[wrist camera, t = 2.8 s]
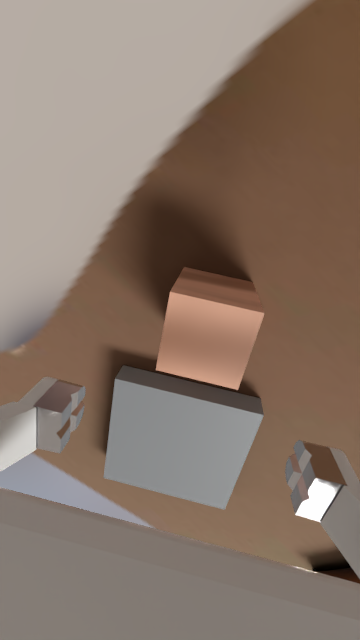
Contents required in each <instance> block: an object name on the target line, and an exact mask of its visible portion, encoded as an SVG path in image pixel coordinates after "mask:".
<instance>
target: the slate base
mask: <svg viewBox="0 0 360 640" xmlns="http://www.w3.org/2000/svg"><path fill="white" fill-rule="evenodd" d="M263 416H264V414H263V409H262V404H261V398H257V397H253V396H248V395H244V394H240V393H236V392H232V391H228V390H224V389H220V388H215V387H211V386H207V385H203V384H199V383H195V382H191V381H187V380H183V379H178V378H174V377H170V376H166V375H162V374H158V373H154V372H150V371H145V370H141V369H137V368H133V367H129V366H125V365H123V366H122V368H121V369H120V371H119V373H118V374H117V376H116V378H115V383H114V392H113V401H112V409H111V418H110V427H109V436H108V445H107V453H106V462H105V471H104V478H106V479H110V480H114V481H118V482H121V483H125V484H129V485H133V486H137V487H140V488H144V489H148V490H152V491H156V492H159V493H163V494H167V495H171V496H175V497H178V498H182V499H186V500H190V501H194V502H197V503H201V504H205V505H209V506H213V507H216V508H220V509H224V510H225V507H226V505H227V503H228V500H229V498H230V495H231V493H232V491H233V488H234V486H235V483H236V481H237V478H238V476H239V474H240V471H241V469H242V466H243V464H244V462H245V459H246V457H247V454H248V452H249V450H250V447H251V445H252V442H253V440H254V438H255V435H256V433H257V430H258V428H259V425H260V423H261V421H262V418H263Z"/></svg>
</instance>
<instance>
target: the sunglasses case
mask: <svg viewBox="0 0 360 640" xmlns="http://www.w3.org/2000/svg"><path fill="white" fill-rule="evenodd" d="M313 571H314V572H316V570H315V569H314V568H313ZM318 573H322V574H326V575H329V576H333V577H337V578H340V579H344V580H348V581H352V582H355V583H359V584H360V579H359V577H358V576H357V574H356V573H355V572H354V570H353V569H352V568H346V569H338V570H330V571H318Z"/></svg>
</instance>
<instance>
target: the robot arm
mask: <svg viewBox="0 0 360 640" xmlns="http://www.w3.org/2000/svg"><path fill="white" fill-rule="evenodd" d="M84 396H85V387H84V386H81V385H77V384H74V383H70V382H67V381H63V380H58V379H55V378H51V377H44V378H43V379H42V380H41V381H39V382H38V383H37V384H36V385H35V386H34V387H33V388H32V389H31V390H30V391H29V392H28V393H27V394H26V395H25V396H24V397H23V398H22V399H21V400H20V401H19V402H18V403H17V402H11V403H8V404H5V405H2V406H0V472H1V471H2V470H4V469H5V468H7V467H8V466H10V465H12V464H14V463H15V462H17V461H18V460H20V459H21V458H23V457H25V456H26V455H28V454H30V453H31V452H33V451H35V450H36V448H39V449H43V450H47V451H52V452H56V453H61V451H62V450H63V448H64V447H65V445H66V444H67V442H68V440H69V439H70V432H72V431H74V430H76V428H77V426H78V425H79V423H80V421H81V418H82V416H83V411H84V403H83V402H82V399H83V398H84ZM294 450H295V454H293V455H291V456H289V458H288V461H287V463H286V470H285V473H286V480H287V484H288V485H289V486H290V488H291V489H292V490H293V492H292V494H291V500H292V504H293V508H294V512H295V515H298V516H302V517H305V518H308V519H312V520H315V521H319V522H321V523H320V524H321V525H322V527H323V528H324V529H325V531H326V532H327V534H328V535H329V536H330V538H331V539H332V541H333V542H334V544H335V545H336V546H337V548H338V549H339V551H340V552H341V553H342V555H343V556H344V558H345V559H346V560H347V562H348V563H349V565H350V566H351V567H352V569H353V570H354V572H355V573H356V574H357V576H358V577H359V579H360V482H359V480H358V478H357V476H356V474H355V472H354V470H353V468H352V467H351V465H350V463H349V461H348V459H347V457H346V455H345V453H344V452H343V451H342V450H340V449H336V448H332V447H325V446H322V445H318V444H314V443H309V442H305V441H301V440H299V441H297V442H296V444H295V446H294ZM0 640H360V584H359V583H355V582H352V581H348V580H344V579H340V578H337V577H333V576H329V575H326V574H322V573H318V572H314V571H311V570H307V569H303V568H299V567H296V566H292V565H288V564H285V563H281V562H277V561H273V560H270V559H266V558H262V557H258V556H255V555H251V554H247V553H243V552H240V551H236V550H232V549H228V548H225V547H221V546H217V545H213V544H210V543H206V542H202V541H199V540H195V539H191V538H187V537H184V536H180V535H176V534H172V533H169V532H165V531H161V530H158V529H154V528H150V527H146V526H143V525H138V524H135V523H131V522H128V521H124V520H120V519H116V518H113V517H109V516H105V515H102V514H98V513H94V512H90V511H87V510H83V509H79V508H76V507H72V506H68V505H64V504H61V503H57V502H53V501H49V500H46V499H42V498H38V497H34V496H31V495H27V494H23V493H20V492H16V491H12V490H8V489H4V488H1V487H0Z"/></svg>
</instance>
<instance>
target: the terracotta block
mask: <svg viewBox="0 0 360 640" xmlns="http://www.w3.org/2000/svg"><path fill="white" fill-rule="evenodd" d="M263 316H264V310H263V308H262V305H261V303H260V300H259V297H258V295H257V292H256V289H255V287H254V284H253V282H250V281H246V280H241V279H237V278H232V277H228V276H223V275H219V274H214V273H210V272H205V271H201V270H196V269H192V268H187V267H184V268H183V270H182V271H181V273H180V275H179V277H178V278H177V280H176V282H175V284H174V286H173V287H172V289H171V291H170V295H169V300H168V306H167V311H166V316H165V322H164V327H163V333H162V338H161V343H160V349H159V354H158V360H157V365H156V370H158V371H162V372H166V373H170V374H174V375H179V376H183V377H187V378H191V379H195V380H199V381H203V382H207V383H211V384H216V385H220V386H224V387H228V388H232V389H236V390H238V388H239V386H240V383H241V380H242V377H243V374H244V371H245V368H246V365H247V362H248V360H249V357H250V354H251V351H252V348H253V345H254V342H255V339H256V337H257V334H258V331H259V328H260V325H261V322H262V319H263Z"/></svg>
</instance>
